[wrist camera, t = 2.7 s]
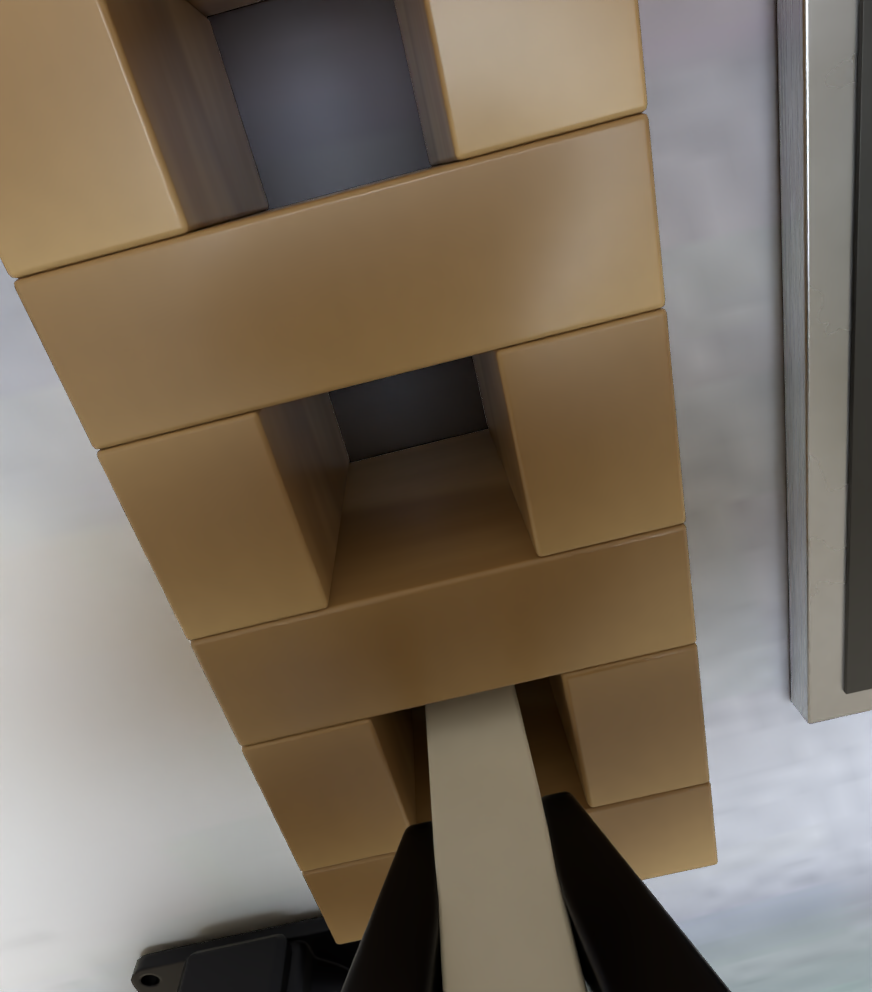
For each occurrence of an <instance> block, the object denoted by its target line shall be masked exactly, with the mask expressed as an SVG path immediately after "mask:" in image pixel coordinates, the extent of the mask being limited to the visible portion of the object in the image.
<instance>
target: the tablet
mask: <svg viewBox="0 0 872 992" xmlns="http://www.w3.org/2000/svg"><path fill="white" fill-rule="evenodd" d="M777 27H778V76H779V125H780V174H781V223H782V272H783V321H784V371H785V420H786V469H787V518H788V567H789V616H790V665H791V702H792V703H793V704H794V706H795V707H796V708H797V710H798V711H799V712H800V714H801V715H802V716H803V718H804V719H805V720H806V721H807V723H809V724H812V723H816V722H821V721H825V720H830V719H834V718H839V717H843V716H848V715H852V714H857V713H861V712H866V711H870V710H872V0H777Z"/></svg>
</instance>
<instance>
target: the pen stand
mask: <svg viewBox="0 0 872 992" xmlns="http://www.w3.org/2000/svg"><path fill="white" fill-rule="evenodd" d="M260 1H263V0H0V258H1V260H2V262H3V264H4V266H5V268H6V270H7V272H8V274H9V275H10V276H11V277H13V278H19V279H18V280H16V281H15V283H14V285H15V289H16V291H17V293H18V295H19V297H20V299H21V301H22V303H23V305H24V307H25V309H26V311H27V313H28V315H29V318H30V320H31V322H32V324H33V326H34V328H35V330H36V332H37V334H38V336H39V338H40V340H41V342H42V344H43V346H44V348H45V350H46V352H47V354H48V356H49V358H50V360H51V362H52V364H53V366H54V369H55V371H56V373H57V375H58V377H59V379H60V381H61V383H62V385H63V387H64V389H65V391H66V393H67V395H68V397H69V399H70V401H71V403H72V405H73V407H74V409H75V411H76V413H77V415H78V417H79V419H80V422H81V424H82V426H83V428H84V430H85V432H86V434H87V436H88V438H89V440H90V442H91V444H92V446H93V447H94V448H95V449H100V450H99V451H98V452H97V456H98V459H99V461H100V463H101V465H102V467H103V469H104V471H105V473H106V475H107V477H108V479H109V481H110V483H111V485H112V487H113V490H114V492H115V494H116V496H117V498H118V500H119V502H120V504H121V506H122V508H123V510H124V512H125V514H126V516H127V518H128V520H129V522H130V524H131V526H132V528H133V530H134V532H135V534H136V536H137V538H138V540H139V542H140V545H141V547H142V549H143V551H144V553H145V555H146V557H147V559H148V561H149V563H150V565H151V567H152V569H153V571H154V573H155V575H156V577H157V579H158V581H159V583H160V585H161V587H162V589H163V591H164V593H165V595H166V598H167V600H168V602H169V604H170V606H171V608H172V610H173V612H174V614H175V616H176V618H177V620H178V622H179V624H180V626H181V628H182V630H183V632H184V634H185V636H186V638H187V639H188V640H191V647H192V649H193V651H194V653H195V655H196V657H197V659H198V661H199V663H200V665H201V667H202V669H203V672H204V674H205V676H206V678H207V680H208V682H209V684H210V686H211V688H212V690H213V692H214V694H215V696H216V698H217V700H218V702H219V704H220V706H221V708H222V710H223V712H224V714H225V716H226V718H227V720H228V723H229V725H230V727H231V729H232V731H233V733H234V735H235V737H236V739H237V741H238V743H239V744H240V745H241V746H242V752H243V754H244V756H245V758H246V760H247V763H248V765H249V767H250V769H251V771H252V773H253V775H254V777H255V779H256V781H257V783H258V785H259V787H260V789H261V791H262V793H263V795H264V797H265V799H266V801H267V803H268V805H269V807H270V809H271V811H272V813H273V815H274V818H275V820H276V822H277V824H278V826H279V828H280V830H281V832H282V834H283V836H284V838H285V840H286V842H287V844H288V846H289V848H290V850H291V852H292V854H293V856H294V858H295V860H296V862H297V864H298V866H299V868H300V870H301V871H302V874H303V877H304V879H305V881H306V883H307V885H308V887H309V889H310V891H311V893H312V895H313V897H314V899H315V901H316V903H317V905H318V907H319V909H320V911H321V913H322V915H323V917H324V919H325V921H326V923H327V925H328V927H329V930H330V932H331V934H332V936H333V938H334V940H335V942H336V943H337V944H344V943H349V942H353V941H358V940H361V939H362V937H363V934H364V932H365V929H366V927H367V924H368V922H369V919H370V917H371V914H372V912H373V909H374V906H375V904H376V901H377V899H378V896H379V894H380V891H381V889H382V886H383V884H384V881H385V879H386V876H387V874H388V871H389V869H390V866H391V864H392V861H393V859H394V856H395V853H396V851H397V848H398V846H399V843H400V841H401V838H402V836H403V833H404V831H405V830H406V828H407V827H408V826H410V825H413V824H418V823H422V822H427V821H432V809H431V793H430V777H429V760H428V744H427V728H426V711H425V705H427V704H431V703H436V702H440V701H445V700H449V699H453V698H458V697H462V696H466V695H471V694H475V693H480V692H484V691H488V690H493V689H497V688H502V687H506V686H510V685H515V689H516V694H517V698H518V702H519V706H520V710H521V715H522V719H523V723H524V727H525V731H526V735H527V740H528V744H529V748H530V752H531V756H532V761H533V765H534V769H535V773H536V777H537V782H538V786H539V790H540V794H541V798H542V797H543V796H545V795H550V794H554V793H559V792H563V791H567V792H570V793H571V794H572V795H573V796H574V797H575V798H576V799H577V801H578V802H579V803H580V804H581V806H582V807H583V808H584V809H585V811H586V812H587V813H588V814H589V816H590V817H591V818H592V819H593V821H594V822H595V823H596V824H597V826H598V827H599V828H600V829H601V831H602V832H603V833H604V834H605V836H606V837H607V838H608V839H609V841H610V842H611V843H612V844H613V845H614V847H615V848H616V849H617V850H618V852H619V853H620V854H621V855H622V857H623V858H624V859H625V860H626V862H627V863H628V864H629V865H630V867H631V868H632V869H633V870H634V872H635V873H636V874H637V875H638V877H639V878H640V879H641V880H645V879H649V878H654V877H659V876H664V875H668V874H673V873H678V872H682V871H687V870H692V869H696V868H701V867H706V866H711V865H715V864H717V862H718V861H717V849H716V838H715V827H714V817H713V806H712V795H711V784H710V782H709V768H708V757H707V746H706V736H705V725H704V714H703V704H702V693H701V682H700V671H699V661H698V650H697V645H696V644H695V642H696V627H695V616H694V606H693V595H692V584H691V573H690V563H689V552H688V541H687V531H686V526H685V524H684V522H685V519H686V516H685V505H684V494H683V484H682V473H681V462H680V451H679V441H678V430H677V419H676V408H675V397H674V387H673V376H672V365H671V354H670V344H669V333H668V322H667V313H666V311H665V309H663V308H661V307H663V306H664V305H665V291H664V280H663V269H662V258H661V248H660V237H659V226H658V215H657V205H656V194H655V183H654V172H653V162H652V151H651V140H650V129H649V119H648V117H647V115H646V114H643V113H642V112H643V111H645V110H646V108H647V93H646V83H645V72H644V61H643V50H642V39H641V29H640V18H639V7H638V0H394V4H395V8H396V13H397V17H398V22H399V26H400V31H401V35H402V40H403V45H404V49H405V54H406V58H407V63H408V67H409V72H410V76H411V81H412V85H413V90H414V95H415V99H416V104H417V108H418V113H419V117H420V122H421V126H422V131H423V136H424V140H425V145H426V149H427V154H428V158H429V163H430V164H431V166H432V167H428V168H425V169H421V170H417V171H413V172H410V173H406V174H402V175H398V176H395V177H391V178H387V179H383V180H380V181H376V182H372V183H368V184H365V185H361V186H357V187H353V188H350V189H346V190H342V191H338V192H335V193H331V194H327V195H323V196H320V197H316V198H312V199H308V200H305V201H301V202H297V203H293V204H290V205H286V206H282V207H278V208H275V209H271V210H267V209H268V202H267V199H266V196H265V193H264V190H263V187H262V184H261V180H260V177H259V174H258V171H257V168H256V165H255V162H254V159H253V155H252V152H251V149H250V146H249V143H248V140H247V137H246V133H245V130H244V127H243V124H242V121H241V118H240V115H239V112H238V108H237V105H236V102H235V99H234V96H233V93H232V90H231V86H230V83H229V80H228V77H227V74H226V71H225V68H224V65H223V61H222V58H221V55H220V52H219V49H218V46H217V43H216V39H215V36H214V33H213V30H212V27H211V24H210V21H209V20H208V19H207V18H206V17H207V16H210V15H214V14H217V13H221V12H224V11H228V10H231V9H235V8H239V7H242V6H246V5H249V4H253V3H256V2H260ZM266 210H267V211H266ZM469 356H472V358H473V363H474V367H475V372H476V377H477V381H478V386H479V390H480V395H481V399H482V404H483V408H484V413H485V417H486V422H487V426H488V429H485V430H480V431H476V432H472V433H468V434H464V435H460V436H456V437H452V438H448V439H444V440H440V441H436V442H432V443H428V444H424V445H420V446H416V447H412V448H408V449H403V450H399V451H395V452H391V453H387V454H383V455H379V456H375V457H371V458H367V459H363V460H359V461H355V462H351V463H349V460H350V459H349V456H348V453H347V450H346V446H345V443H344V440H343V437H342V434H341V431H340V428H339V425H338V421H337V418H336V415H335V412H334V409H333V406H332V403H331V399H330V396H329V393H328V392H330V391H334V390H338V389H342V388H346V387H350V386H354V385H358V384H362V383H366V382H370V381H374V380H378V379H382V378H386V377H390V376H394V375H398V374H402V373H406V372H410V371H413V370H417V369H421V368H425V367H429V366H433V365H437V364H441V363H445V362H449V361H453V360H457V359H461V358H465V357H469Z"/></svg>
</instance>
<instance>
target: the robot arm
mask: <svg viewBox="0 0 872 992" xmlns="http://www.w3.org/2000/svg"><path fill="white" fill-rule="evenodd" d="M541 800H542V804H543V808H544V813H545V817H546V821H547V825H548V830H549V835H550V841H551V847H552V852H553V858H554V863H555V868H556V873H557V877H558V881H559V884H560V888H561V892H562V895H563V898H564V900H565V903H566V906H567V909H568V914H569V918H570V922H571V926H572V930H573V934H574V938H575V942H576V946H577V950H578V954H579V958H580V962H581V966H582V971H583V975H584V979H585V983H586V987H587V991H588V992H731V991H730V990H729V988H728V987H727V986H726V985H725V983H724V982H723V981H722V980H721V979H720V977H719V976H718V975H717V974H716V972H715V971H714V970H713V969H712V967H711V966H710V965H709V964H708V962H707V961H706V960H705V959H704V957H703V956H702V955H701V954H700V952H699V951H698V950H697V949H696V947H695V946H694V945H693V944H692V942H691V941H690V940H689V939H688V937H687V936H686V935H685V934H684V933H683V931H682V930H681V929H680V928H679V926H678V925H677V924H676V923H675V921H674V920H673V919H672V918H671V916H670V915H669V914H668V913H667V911H666V910H665V909H664V908H663V906H662V905H661V904H660V903H659V901H658V900H657V899H656V898H655V896H654V895H653V894H652V893H651V891H650V890H649V889H648V888H647V887H646V885H645V884H644V883H643V882H642V880H641V879H640V878H639V877H638V875H637V874H636V873H635V872H634V870H633V869H632V868H631V867H630V865H629V864H628V863H627V862H626V860H625V859H624V858H623V857H622V855H621V854H620V853H619V852H618V850H617V849H616V848H615V847H614V845H613V844H612V843H611V842H610V841H609V839H608V838H607V837H606V836H605V834H604V833H603V832H602V831H601V829H600V828H599V827H598V826H597V824H596V823H595V822H594V821H593V819H592V818H591V817H590V816H589V814H588V813H587V812H586V811H585V809H584V808H583V807H582V806H581V804H580V803H579V802H578V801H577V799H576V798H575V797H574V796H573V795H572V794H571V793H570V792H567V791H563V792H559V793H554V794H550V795H545V796H543V797H542V798H541ZM131 981H132V984H133V985H134V987H135V988H136V989H137V991H138V992H443V989H442V973H441V956H440V940H439V898H438V888H437V878H436V868H435V857H434V842H433V826H432V821H427V822H422V823H418V824H413V825H410V826H408V827H407V828H406V830H405V831H404V833H403V836H402V838H401V841H400V843H399V846H398V848H397V851H396V853H395V856H394V859H393V861H392V864H391V866H390V869H389V871H388V874H387V876H386V879H385V881H384V884H383V886H382V889H381V891H380V894H379V896H378V899H377V901H376V904H375V906H374V909H373V912H372V914H371V917H370V919H369V922H368V924H367V927H366V929H365V932H364V934H363V937H362V939H361V940H358V941H353V942H349V943H344V944H337V943H336V942H335V940H334V938H333V936H332V934H331V932H330V930H329V927H328V925H327V923H326V921H325V919H324V917H319V918H314V919H310V920H305V921H300V922H296V923H291V924H286V925H282V926H277V927H272V928H268V929H263V930H258V931H254V932H249V933H245V934H240V935H235V936H231V937H226V938H221V939H217V940H212V941H207V942H203V943H198V944H193V945H189V946H184V947H179V948H175V949H170V950H165V951H161V952H156V953H151V954H147V955H144V956H142V957H140V958H139V959H138V960H137V963H136V966H135V969H134V972H133V975H132V978H131Z"/></svg>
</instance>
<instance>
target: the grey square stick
mask: <svg viewBox="0 0 872 992" xmlns="http://www.w3.org/2000/svg"><path fill="white" fill-rule="evenodd" d="M425 711H426V728H427V744H428V760H429V777H430V793H431V809H432V826H433V842H434V857H435V868H436V878H437V888H438V898H439V940H440V956H441V973H442V989H443V992H588V991H587V987H586V983H585V979H584V975H583V971H582V966H581V962H580V958H579V954H578V950H577V946H576V942H575V938H574V934H573V930H572V926H571V922H570V918H569V914H568V909H567V906H566V903H565V900H564V898H563V895H562V892H561V888H560V884H559V881H558V877H557V873H556V868H555V863H554V858H553V852H552V847H551V841H550V835H549V830H548V825H547V821H546V817H545V813H544V808H543V804H542V800H541V794H540V790H539V786H538V782H537V777H536V773H535V769H534V765H533V761H532V756H531V752H530V748H529V744H528V740H527V735H526V731H525V727H524V723H523V719H522V715H521V710H520V706H519V702H518V698H517V694H516V689H515V685H510V686H506V687H502V688H497V689H493V690H488V691H484V692H480V693H475V694H471V695H466V696H462V697H458V698H453V699H449V700H445V701H440V702H436V703H431V704H427V705H425Z"/></svg>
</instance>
